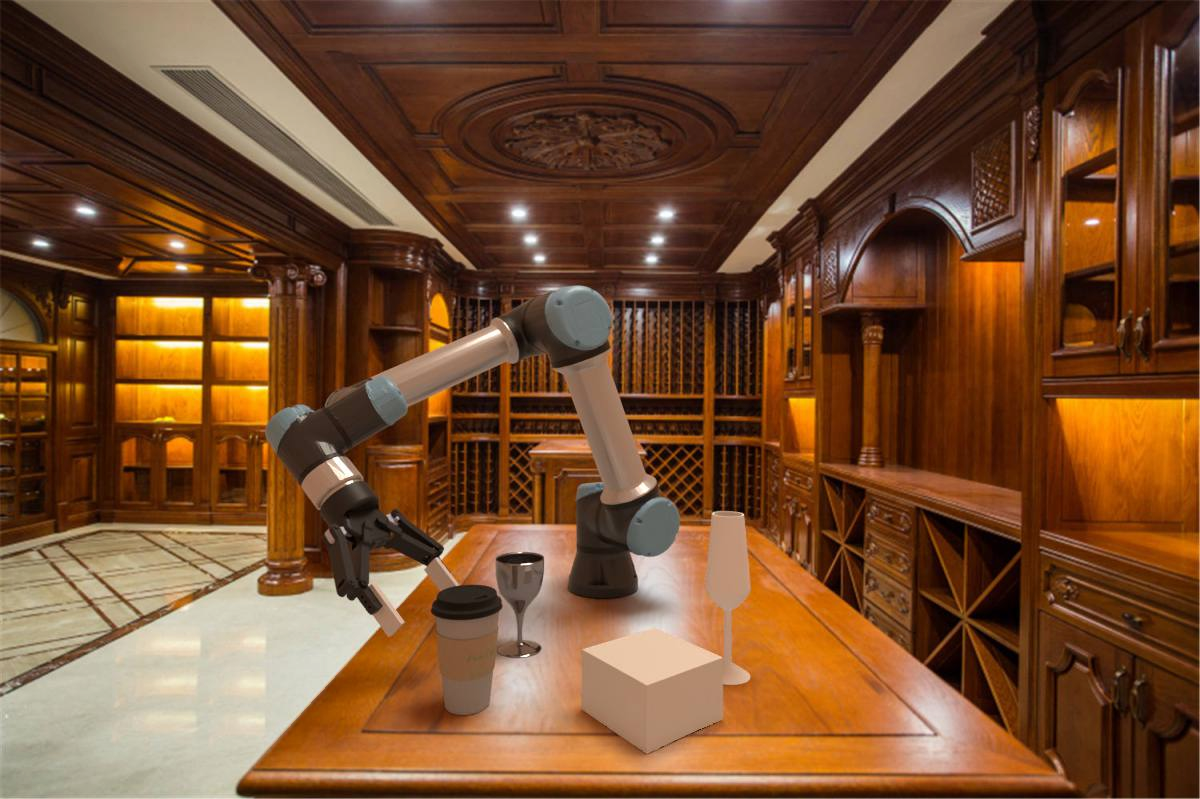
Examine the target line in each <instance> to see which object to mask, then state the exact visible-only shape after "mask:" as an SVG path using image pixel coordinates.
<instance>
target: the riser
mask: <svg viewBox="0 0 1200 799" xmlns="http://www.w3.org/2000/svg"><path fill="white" fill-rule="evenodd" d="M723 661H724V656H723V657H722V656H720V655H719V654H716V653H713V652H712V651H709V650H707V649H705V648H702V647H700V646H698V645H696V644H694V643H691V642H689V641H686V640H684V639H682V638H680V637H677V636H674V635H673V634H670V633H668V632H667V631H666V632H665V631H663V630H662V629H659V628H656V627H653V628H650V629H646V630H643V631H640V632H635V633H632V634H630V635H627V636H623V637H619V638H615V639H612V640H609V641H606V642H603V643H598V644H595V645H592V646H589V647H586V648H582V649H581V710H582V711H583V712H585V713H586V714H587V715H589V716H591V717H592V718H593V719H595V720H597V721H598V722H599V723H600V724H602V725H603V726H605V727H606V726H607V727H606V728H608V729H610V730H611V731H612V732H614V733H615V734H617V735H618V736H619V737H621V738H622V739H623V740H625V741H626V742H628V743H629V744H631V745H632V746H634V747H635V746H636V748H637V749H639V750H640V751H641V750H642V751H641V752H643V753H644V754H646V755H648V753H649V754H650V752H651V751H653V752H655V751H657V750H659V748H660V747H662V746H664V747H666V746H668V745H670V744H669V743H671V742H673V741H675V740H677V739H679V738H681V737H683V736H685V735H688V734H690V733H692V732H694V731H696V730H698V729H701V730H703V729H702V728H704V727H706V728H708V727H710V726H713V725H714V724H713V723H715V724H717V723H719V722H721V721H723V720H724V684H723ZM716 722H717V723H716ZM709 725H710V726H709ZM707 726H708V727H707ZM704 729H705V728H704ZM690 735H691V734H690ZM688 736H689V735H688ZM679 740H680V739H679ZM677 741H678V740H677ZM675 742H676V741H675ZM673 743H674V742H673ZM667 744H668V745H667ZM671 744H672V743H671ZM665 745H666V746H665ZM662 748H663V747H662ZM660 749H661V748H660ZM654 750H655V751H654ZM651 753H652V752H651Z"/></svg>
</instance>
